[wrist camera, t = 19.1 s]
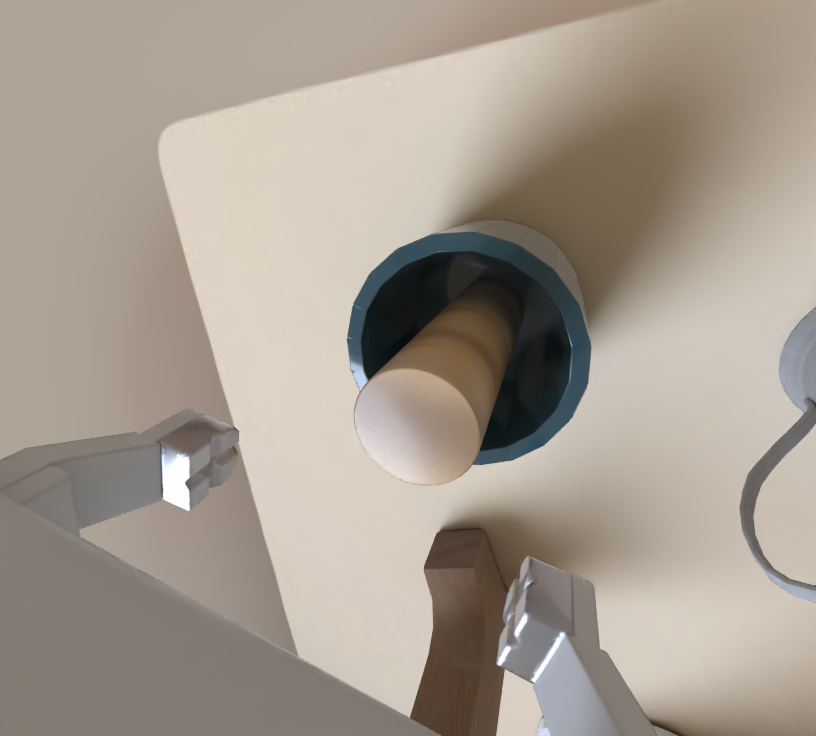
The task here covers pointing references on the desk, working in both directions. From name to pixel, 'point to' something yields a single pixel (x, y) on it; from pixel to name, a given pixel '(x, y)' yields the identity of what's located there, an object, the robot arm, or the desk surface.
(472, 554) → the wooden block
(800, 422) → the glass holder
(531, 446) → the crock
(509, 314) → the rolling pin
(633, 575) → the desk surface
